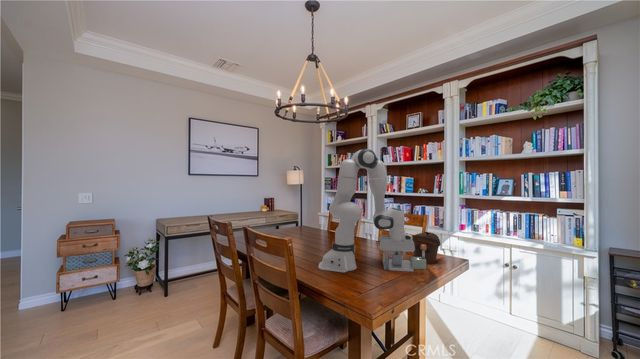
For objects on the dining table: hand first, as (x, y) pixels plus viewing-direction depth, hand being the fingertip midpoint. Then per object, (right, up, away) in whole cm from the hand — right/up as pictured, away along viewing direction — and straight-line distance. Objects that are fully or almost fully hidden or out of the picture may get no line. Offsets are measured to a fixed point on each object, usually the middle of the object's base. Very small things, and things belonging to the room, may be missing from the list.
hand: (396, 258), depth 161 cm
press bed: (0, -5, 0) cm, 5 cm away
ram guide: (+12, -5, -2) cm, 13 cm away
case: (+21, -5, +12) cm, 25 cm away
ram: (+13, -1, -2) cm, 13 cm away
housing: (0, -3, 0) cm, 3 cm away
